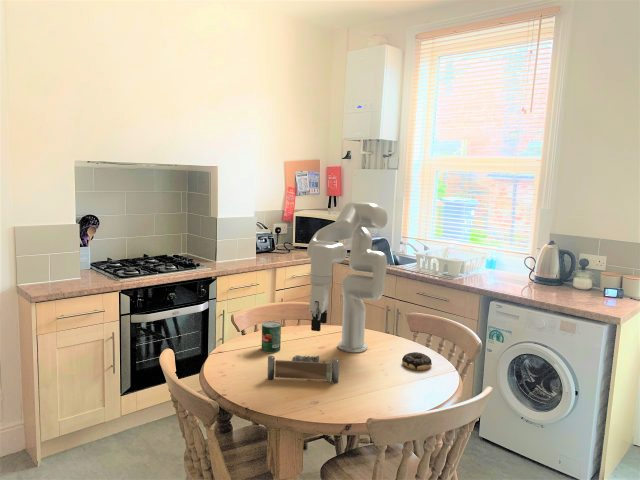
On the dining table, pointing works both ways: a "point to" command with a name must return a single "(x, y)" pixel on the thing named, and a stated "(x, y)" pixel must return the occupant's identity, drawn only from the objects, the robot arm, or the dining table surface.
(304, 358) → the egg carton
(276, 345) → the canned tomato
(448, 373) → the dining table surface
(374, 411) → the dining table surface
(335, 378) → the gate posts
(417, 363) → the donut
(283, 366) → the gate
